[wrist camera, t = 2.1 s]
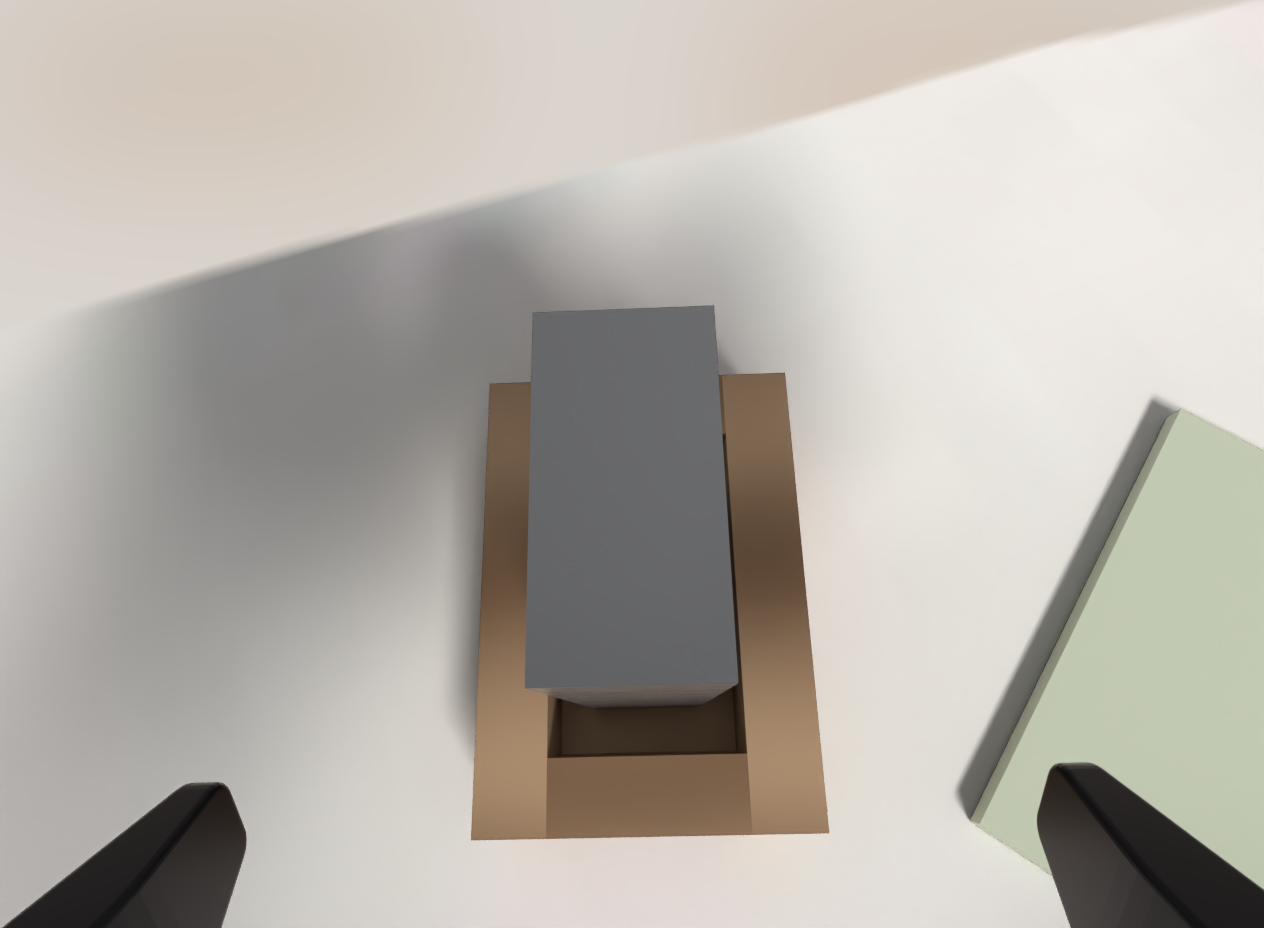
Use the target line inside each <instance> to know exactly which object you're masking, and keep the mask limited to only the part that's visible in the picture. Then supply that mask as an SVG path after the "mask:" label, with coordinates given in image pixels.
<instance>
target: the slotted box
mask: <svg viewBox="0 0 1264 928" xmlns="http://www.w3.org/2000/svg"><path fill="white" fill-rule="evenodd" d="M718 376H719V391H720V407H721V422H722V437H723V453H724V468H725V483H726V499H727V514H728V529H729V545H730V560H731V575H732V591H733V606H734V621H735V637H736V652H737V667H738V684H736V685H734V686H733V687H731V688H730V689H728V690H726V691H725V692H723V693H721V694H720V695H718V696H716V697H715V698H713V699H711V700H710V701H708V702H706V703H705V704H703V705H702V706H699V707H659V708H618V709H594V708H590V707H587V706H583V705H580V704H576V703H573V702H570V701H566V700H563V699H559V698H556V697H552V696H549V695H545V694H542V693H538V692H535V691H532V690H528V689H525V648H526V602H527V557H528V511H529V466H530V420H531V382H523V383H496V384H490V394H489V418H488V443H487V467H486V491H485V515H484V540H483V564H482V588H481V612H480V637H479V661H478V685H477V709H476V734H475V758H474V782H473V806H472V831H471V840H510V839H560V838H611V837H661V836H712V835H762V834H813V833H829V826H828V816H827V806H826V795H825V785H824V774H823V764H822V754H821V743H820V733H819V722H818V712H817V702H816V691H815V681H814V671H813V660H812V650H811V639H810V629H809V619H808V608H807V598H806V588H805V577H804V567H803V556H802V546H801V536H800V525H799V515H798V504H797V494H796V484H795V473H794V463H793V453H792V442H791V432H790V421H789V411H788V401H787V390H786V380H785V373H765V374H738V375H718Z"/></svg>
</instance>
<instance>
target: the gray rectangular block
mask: <svg viewBox="0 0 1264 928" xmlns="http://www.w3.org/2000/svg"><path fill="white" fill-rule="evenodd" d="M736 684H738V667H737V652H736V637H735V621H734V606H733V591H732V575H731V560H730V545H729V529H728V514H727V499H726V483H725V468H724V453H723V437H722V422H721V407H720V391H719V376H718V361H717V345H716V330H715V315H714V305H713V306H688V307H663V308H638V309H613V310H587V311H562V312H537V313H533V330H532V375H531V420H530V466H529V511H528V557H527V602H526V648H525V689H528V690H532V691H535V692H538V693H542V694H545V695H549V696H552V697H556V698H559V699H563V700H566V701H570V702H573V703H576V704H580V705H583V706H587V707H590V708H594V709H618V708H659V707H699V706H702V705H703V704H705V703H706V702H708V701H710V700H711V699H713V698H715V697H716V696H718V695H720V694H721V693H723V692H725V691H726V690H728V689H730V688H731V687H733V686H734V685H736Z"/></svg>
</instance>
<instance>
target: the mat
mask: <svg viewBox="0 0 1264 928" xmlns="http://www.w3.org/2000/svg"><path fill="white" fill-rule="evenodd" d="M1071 762H1089V763H1093V764H1095V765H1097V766H1099V767H1101V768H1102V769H1104V770H1105V771H1107V772H1108V773H1109V774H1111V775H1112V776H1113V777H1115V778H1116V779H1117V780H1119V781H1120V782H1121V783H1123V784H1124V785H1125V786H1127V787H1128V788H1129V789H1131V790H1132V791H1133V792H1135V793H1136V794H1137V795H1139V796H1140V797H1141V798H1143V799H1144V800H1145V801H1147V802H1148V803H1149V804H1151V805H1152V806H1153V807H1155V808H1156V809H1157V810H1159V811H1160V812H1161V813H1163V814H1164V815H1165V816H1167V817H1168V818H1169V819H1171V820H1172V821H1173V822H1175V823H1176V824H1177V825H1179V826H1180V827H1181V828H1183V829H1184V830H1185V831H1187V832H1188V833H1189V834H1191V835H1192V836H1193V837H1195V838H1196V839H1197V840H1199V841H1200V842H1201V843H1203V844H1204V845H1205V846H1207V847H1208V848H1209V849H1211V850H1212V851H1213V852H1215V853H1216V854H1217V855H1219V856H1220V857H1221V858H1223V859H1224V860H1225V861H1227V862H1228V863H1229V864H1231V865H1232V866H1233V867H1235V868H1236V869H1237V870H1239V871H1240V872H1241V873H1243V874H1244V875H1245V876H1247V877H1248V878H1249V879H1251V880H1252V881H1253V882H1255V883H1256V884H1257V885H1259V886H1260V887H1261V888H1263V889H1264V451H1263V450H1261V449H1259V448H1257V447H1255V446H1253V445H1251V444H1249V443H1247V442H1245V441H1243V440H1241V439H1239V438H1237V437H1235V436H1233V435H1231V434H1229V433H1227V432H1225V431H1223V430H1222V429H1220V428H1218V427H1216V426H1214V425H1212V424H1210V423H1208V422H1206V421H1204V420H1202V419H1200V418H1198V417H1196V416H1194V415H1192V414H1190V413H1188V412H1186V411H1184V410H1182V409H1180V410H1178V411H1177V412H1175V413H1173V414H1172V415H1170V416H1169V417H1167V418H1166V420H1165V422H1164V424H1163V426H1162V429H1161V431H1160V433H1159V435H1158V437H1157V439H1156V441H1155V443H1154V445H1153V447H1152V449H1151V451H1150V453H1149V455H1148V457H1147V459H1146V461H1145V463H1144V465H1143V467H1142V469H1141V471H1140V474H1139V476H1138V478H1137V480H1136V482H1135V484H1134V486H1133V488H1132V490H1131V492H1130V494H1129V496H1128V498H1127V500H1126V502H1125V504H1124V506H1123V508H1122V510H1121V512H1120V514H1119V516H1118V519H1117V521H1116V523H1115V525H1114V527H1113V529H1112V531H1111V533H1110V535H1109V537H1108V539H1107V541H1106V543H1105V545H1104V547H1103V549H1102V551H1101V553H1100V555H1099V557H1098V559H1097V561H1096V564H1095V566H1094V568H1093V570H1092V572H1091V574H1090V576H1089V578H1088V580H1087V582H1086V584H1085V586H1084V588H1083V590H1082V592H1081V594H1080V596H1079V598H1078V600H1077V602H1076V604H1075V606H1074V609H1073V611H1072V613H1071V615H1070V617H1069V619H1068V621H1067V623H1066V625H1065V627H1064V629H1063V631H1062V633H1061V635H1060V637H1059V639H1058V641H1057V643H1056V645H1055V647H1054V649H1053V651H1052V654H1051V656H1050V658H1049V660H1048V662H1047V664H1046V666H1045V668H1044V670H1043V672H1042V674H1041V676H1040V678H1039V680H1038V682H1037V684H1036V686H1035V688H1034V690H1033V692H1032V694H1031V697H1030V699H1029V701H1028V703H1027V705H1026V707H1025V709H1024V711H1023V713H1022V715H1021V717H1020V719H1019V721H1018V723H1017V725H1016V727H1015V729H1014V731H1013V733H1012V735H1011V737H1010V739H1009V742H1008V744H1007V746H1006V748H1005V750H1004V752H1003V754H1002V756H1001V758H1000V760H999V762H998V764H997V766H996V768H995V770H994V772H993V774H992V776H991V778H990V780H989V782H988V784H987V787H986V789H985V791H984V793H983V795H982V797H981V799H980V801H979V803H978V805H977V807H976V809H975V811H974V813H973V815H972V817H971V819H970V822H972V823H973V824H975V825H976V826H978V827H979V828H981V829H983V830H984V831H986V832H987V833H989V834H990V835H992V836H993V837H995V838H996V839H998V840H999V841H1001V842H1002V843H1004V844H1005V845H1007V846H1008V847H1010V848H1011V849H1013V850H1014V851H1016V852H1017V853H1019V854H1020V855H1022V856H1023V857H1025V858H1026V859H1028V860H1029V861H1031V862H1032V863H1034V864H1035V865H1037V866H1038V867H1040V868H1041V869H1043V870H1044V871H1046V872H1047V873H1049V874H1050V875H1052V873H1051V870H1050V867H1049V864H1048V861H1047V858H1046V856H1045V853H1044V850H1043V847H1042V844H1041V841H1040V838H1039V834H1038V830H1037V812H1038V808H1039V805H1040V801H1041V798H1042V794H1043V790H1044V787H1045V783H1046V779H1047V776H1048V772H1049V770H1050V768H1051V767H1052V766H1053V765H1054V764H1056V763H1071Z"/></svg>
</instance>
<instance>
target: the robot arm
mask: <svg viewBox="0 0 1264 928" xmlns="http://www.w3.org/2000/svg"><path fill="white" fill-rule="evenodd" d="M1037 830H1038V834H1039V838H1040V841H1041V844H1042V847H1043V850H1044V853H1045V856H1046V858H1047V861H1048V864H1049V867H1050V870H1051V873H1052V876H1053V878H1054V881H1055V884H1056V887H1057V890H1058V893H1059V896H1060V898H1061V901H1062V904H1063V907H1064V910H1065V913H1066V916H1067V918H1068V921H1069V924H1070V927H1071V928H1264V889H1263V888H1261V887H1260V886H1259V885H1257V884H1256V883H1255V882H1253V881H1252V880H1251V879H1249V878H1248V877H1247V876H1245V875H1244V874H1243V873H1241V872H1240V871H1239V870H1237V869H1236V868H1235V867H1233V866H1232V865H1231V864H1229V863H1228V862H1227V861H1225V860H1224V859H1223V858H1221V857H1220V856H1219V855H1217V854H1216V853H1215V852H1213V851H1212V850H1211V849H1209V848H1208V847H1207V846H1205V845H1204V844H1203V843H1201V842H1200V841H1199V840H1197V839H1196V838H1195V837H1193V836H1192V835H1191V834H1189V833H1188V832H1187V831H1185V830H1184V829H1183V828H1181V827H1180V826H1179V825H1177V824H1176V823H1175V822H1173V821H1172V820H1171V819H1169V818H1168V817H1167V816H1165V815H1164V814H1163V813H1161V812H1160V811H1159V810H1157V809H1156V808H1155V807H1153V806H1152V805H1151V804H1149V803H1148V802H1147V801H1145V800H1144V799H1143V798H1141V797H1140V796H1139V795H1137V794H1136V793H1135V792H1133V791H1132V790H1131V789H1129V788H1128V787H1127V786H1125V785H1124V784H1123V783H1121V782H1120V781H1119V780H1117V779H1116V778H1115V777H1113V776H1112V775H1111V774H1109V773H1108V772H1107V771H1105V770H1104V769H1102V768H1101V767H1099V766H1097V765H1095V764H1093V763H1089V762H1071V763H1056V764H1054V765H1053V766H1052V767H1051V768H1050V770H1049V772H1048V776H1047V779H1046V783H1045V787H1044V790H1043V794H1042V798H1041V801H1040V805H1039V808H1038V812H1037ZM245 850H246V831H245V828H244V825H243V823H242V820H241V818H240V815H239V812H238V810H237V807H236V805H235V802H234V800H233V797H232V795H231V792H230V790H229V788H228V787H227V786H226V785H224V784H223V783H219V782H207V783H189V784H186V785H184V786H182V787H180V788H179V789H177V790H176V791H175V792H173V793H172V794H171V795H170V796H168V797H167V798H166V799H165V800H163V801H162V802H161V803H159V804H158V805H157V806H156V807H154V808H153V809H152V810H151V811H149V812H148V813H147V814H145V815H144V816H143V817H142V818H140V819H139V820H138V821H137V822H135V823H134V824H133V825H132V826H130V827H129V828H128V829H126V830H125V831H124V832H123V833H121V834H120V835H119V836H118V837H116V838H115V839H114V840H113V841H111V842H110V843H109V844H107V845H106V846H105V847H104V848H102V849H101V850H100V851H99V852H97V853H96V854H95V855H94V856H92V857H91V858H90V859H88V860H87V861H86V862H85V863H83V864H82V865H81V866H80V867H78V868H77V869H76V870H75V871H73V872H72V873H71V874H69V875H68V876H67V877H66V878H64V879H63V880H62V881H61V882H59V883H58V884H57V885H55V886H54V887H53V888H52V889H50V890H49V891H48V892H47V893H45V894H44V895H43V896H42V897H40V898H39V899H38V900H36V901H35V902H34V903H33V904H31V905H30V906H29V907H28V908H26V909H25V910H24V911H23V912H21V913H20V914H19V915H17V916H16V917H15V918H14V919H12V920H11V921H10V922H9V923H7V924H6V925H5V926H4V927H2V928H221V927H222V924H223V921H224V918H225V915H226V911H227V908H228V905H229V902H230V899H231V896H232V893H233V889H234V886H235V883H236V880H237V877H238V874H239V871H240V868H241V864H242V861H243V858H244V854H245Z"/></svg>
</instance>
